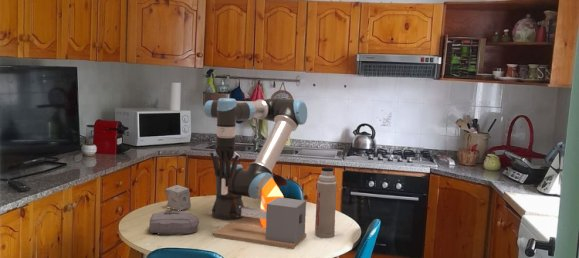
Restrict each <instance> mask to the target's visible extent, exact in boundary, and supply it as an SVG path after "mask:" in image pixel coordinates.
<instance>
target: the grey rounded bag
mask: <svg viewBox="0 0 579 258" xmlns="http://www.w3.org/2000/svg"><path fill="white" fill-rule="evenodd" d="M200 224H201V223H200V220H199V218H198V217H197V215H195V214H194V213H192V212H189V211H184V210H182V211H177V210H174V209H171V210H163V211H159V212H155V213H152V214H151V217H150V219H149V225H148V226H149V231H150V233H151V234H153V233H159V234H158V235H160V234H182V235H189V234H192V233H196V232H197V231H198V229H199V225H200Z"/></svg>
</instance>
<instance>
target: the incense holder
mask: <svg viewBox="0 0 579 258" xmlns="http://www.w3.org/2000/svg"><path fill="white" fill-rule="evenodd" d="M164 192H165V194H166V196H167V203H166V208H167V207H170V209H172V208H174V209H177V210H179V211H181V210H182V211H184V210H186V209H190V208H191V207H192V203H191V194H190V188H189V187H185V186H182V185H179V184H176V185H173V186H170V187H167V188H165V189H164ZM174 209H173V210H174ZM177 210H176V211H177Z"/></svg>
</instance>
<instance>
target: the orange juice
mask: <svg viewBox="0 0 579 258" xmlns="http://www.w3.org/2000/svg"><path fill="white" fill-rule="evenodd" d="M279 188H280V187H279ZM279 188H278V186H277V185H276V183H275V182H274V180H273V179H272V177H271V179H270V180H269V181H268V182H267V184H266V185H265V186H264V188H263V189H262V196H261V199H260V209H265V210H267V203H269V202H271V201H273V200H274V199H276V198H278V197H280V198H285V197H284V195H283V193H282V191H281V190H280V189H279ZM259 222H260V224H261V225H262V226H261V227H266V219H260V218H259Z"/></svg>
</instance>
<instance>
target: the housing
mask: <svg viewBox="0 0 579 258" xmlns="http://www.w3.org/2000/svg"><path fill="white" fill-rule="evenodd" d="M306 211H307V200H302V199H295V198H287V197H284V198H280V197H278V198H276V199H274V200H273V201H271V202H269V203H267V210H266V227H263V226H259V225H258V226H257V225H250V224H244V223H238V222H229V223H227V224H225V225H224V226H221V227H220V228H219V229H217V230H215V231H213V232H212V237H213V236H214V237H216V238H219V237H220V238H221V239H227V240H233V241H237V242H238V241H239V242H246V243H251V244H258V245H265V246H270V247H271V246H272V247H278V248H284V249H291V250H294V249H295V248H296V247H297V246H298V245H299V244H300V243H301V242H303V241H304V240H305V238H307V233H306V213H307V212H306Z"/></svg>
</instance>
